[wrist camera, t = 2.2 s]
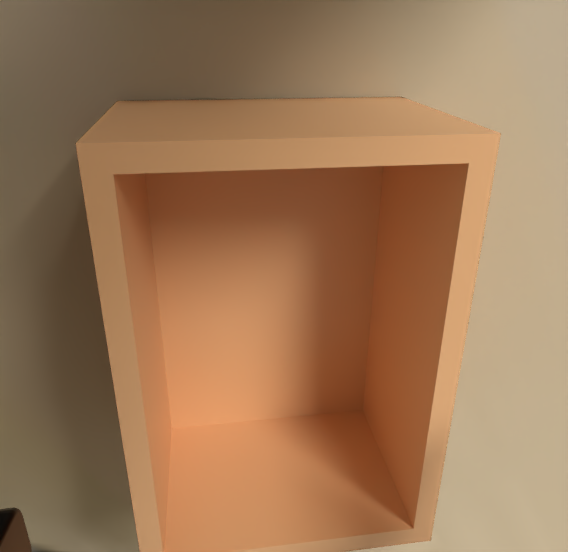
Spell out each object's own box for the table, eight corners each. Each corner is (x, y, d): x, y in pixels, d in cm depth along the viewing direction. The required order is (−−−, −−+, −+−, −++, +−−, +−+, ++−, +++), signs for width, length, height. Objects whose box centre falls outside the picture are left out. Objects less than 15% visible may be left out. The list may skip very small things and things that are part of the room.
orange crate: (401, 96, 14) (501, 133, 9) (372, 411, 18) (430, 540, 14) (117, 100, 13) (75, 143, 8) (157, 431, 17) (143, 577, 13)
